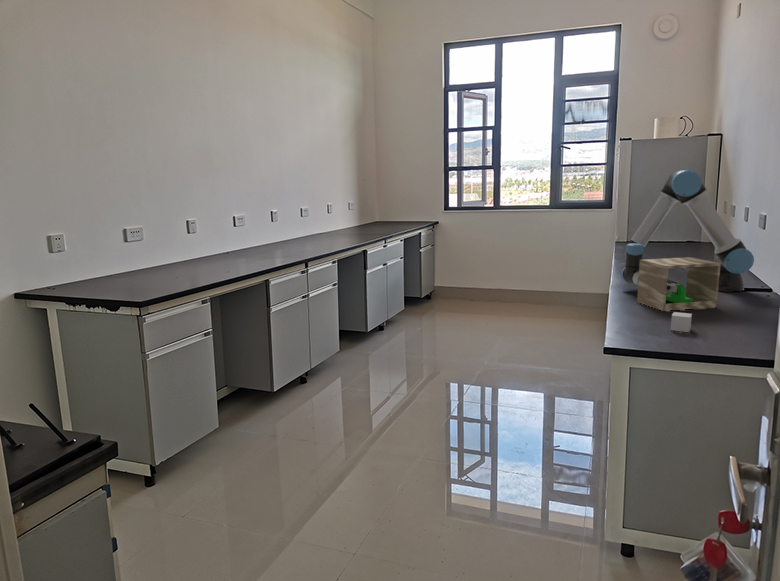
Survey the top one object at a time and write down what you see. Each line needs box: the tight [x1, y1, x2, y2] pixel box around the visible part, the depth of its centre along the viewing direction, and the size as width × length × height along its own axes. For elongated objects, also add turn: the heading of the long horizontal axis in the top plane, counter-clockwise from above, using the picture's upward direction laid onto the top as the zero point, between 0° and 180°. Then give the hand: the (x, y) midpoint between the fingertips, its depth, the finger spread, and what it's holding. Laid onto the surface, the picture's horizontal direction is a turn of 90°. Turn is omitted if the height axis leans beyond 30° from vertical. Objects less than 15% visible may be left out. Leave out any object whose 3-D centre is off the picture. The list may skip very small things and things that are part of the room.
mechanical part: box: [666, 283, 693, 303], centre depth 246 cm, size 12×6×8 cm, turn 10°
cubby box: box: [636, 256, 721, 312], centre depth 244 cm, size 25×18×19 cm
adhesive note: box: [670, 311, 693, 333], centre depth 207 cm, size 6×6×6 cm
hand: (679, 289), depth 242 cm, fingers closed on mechanical part, 2 cm apart
